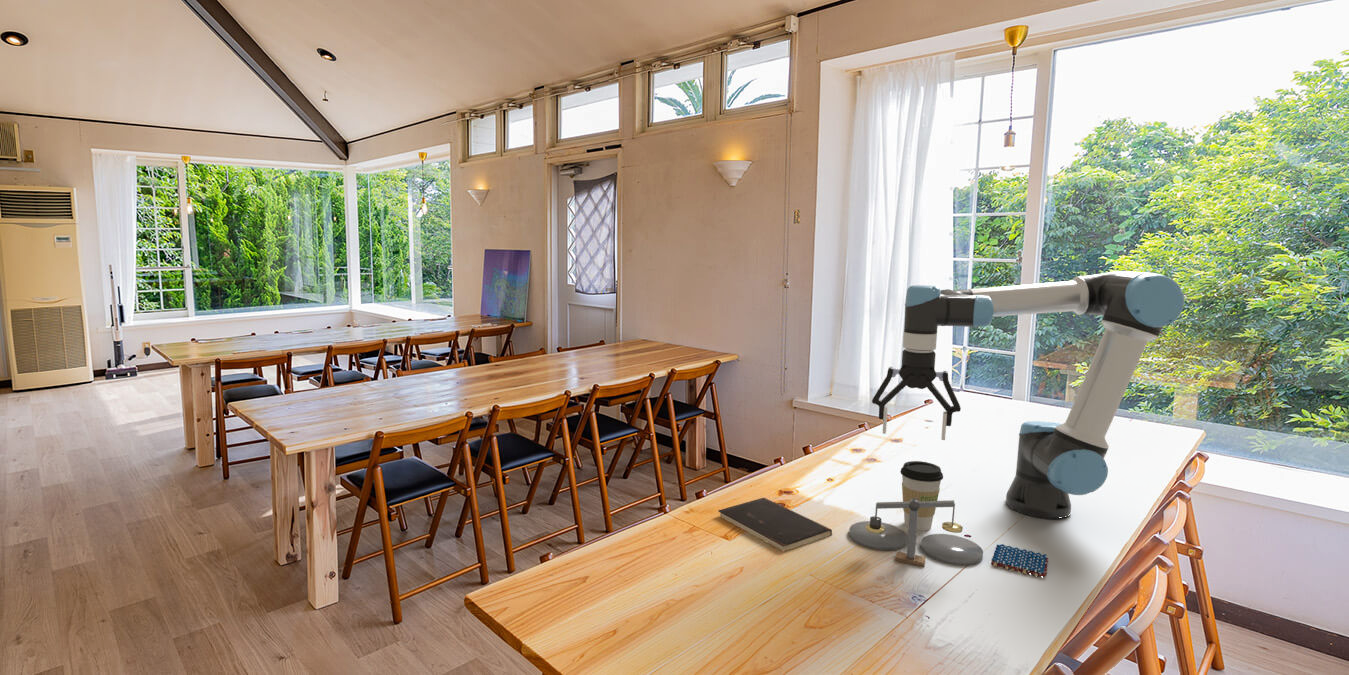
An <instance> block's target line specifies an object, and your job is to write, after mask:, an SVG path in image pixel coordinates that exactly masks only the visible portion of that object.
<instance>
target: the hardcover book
mask: <svg viewBox="0 0 1349 675" xmlns="http://www.w3.org/2000/svg"><path fill="white" fill-rule="evenodd" d="M717 512H719V514H720V515H719V518H721V517H722V519H723V518H724V519H723V520H724V521H727V522H729V523H730V522H731V523H730V524H732V523H733V524H732V525H734V526H736V527H738V528H739V527H740V529H741V528H742V529H741V530H743V529H744V530H743V531H745V530H746V531H745V532H747V531H748V532H747V533H749V532H750V533H752V534H753V535H752V534H751V535H752V536H754V535H755V536H754V537H756V536H757V537H756V538H758V537H759V538H761V539H763V540H765V541H767V542H768V543H767V542H766V543H767V544H769V543H770V544H772V545H773V546H772V545H771V546H772V547H774V546H775V547H774V548H776V547H777V548H776V549H778V548H779V549H781V550H783V551H785V550H787V551H790V550H792V548H793V549H795V547H796V548H799V547H801V545H802V546H805V545H807V544H809V543H810V544H811V543H812V542H815V541H818V540H822V539H823V538H824V539H825V538H826V537H829V536H832V535H833V530H832V529H831V528H829V527H827V526H825V525H823V524H821V523H819V522H817V521H814V520H813V519H810V518H808V517H806V516H805V515H802V514H799V513H798V512H796V511H793V510H791V509H789V508H787V507H785V506H783V505H780V504H778V503H777V502H776V501H775V502H774V501H772V500H771V499H769V498H766V497H762V498H757V499H753V500H750V501H747V502H743V503H740V504H735V505H732V506H728V507H725V508H722V509H718V511H717ZM750 533H749V534H750ZM759 538H758V539H759ZM761 539H760V540H761ZM763 540H762V541H763ZM765 541H764V542H765ZM770 544H769V545H770ZM798 546H799V547H798ZM779 549H778V550H779ZM789 549H790V550H789ZM781 550H780V551H781ZM783 551H782V552H783ZM785 552H786V551H785Z"/></svg>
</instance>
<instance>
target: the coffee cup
mask: <svg viewBox="0 0 1349 675" xmlns="http://www.w3.org/2000/svg"><path fill="white" fill-rule="evenodd" d="M899 472H900V474H901V476H902V482H901V489H902V490H901V491H902V493H901V494H902V502H910V501H911V499H913V498H916V499H918V500H919V501H939V499H938V498H939V495H940V494H939V493H940V490H941V488H940V487H941V486H940V485H941V481H942V480H943V479H944V474H943V473H942V468H941V467H940V466H939V465H937V464H934V463H931V462H927V461H920V460H912V461H906V462H904V463H903V466H902V467H901V468H900V471H899ZM902 509H903V510H902V511H903V513H904V514H903V520H904V526H905V527H907V528H908V529H909V516H910V508H902ZM936 509H937V507H932V508H919V509H918V521H917V531H920V532H923V531H924V532H925V531H929V530H931V529H932V525H933V521H934V520H933V519H934V516H935V513H936Z"/></svg>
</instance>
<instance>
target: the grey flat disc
mask: <svg viewBox="0 0 1349 675" xmlns="http://www.w3.org/2000/svg"><path fill="white" fill-rule="evenodd" d="M920 549H921V551H922V552H923V553H924V554H925V555H926V556H927V557H929V558H931V559H933V560H936V561H938V562H941V563H944V564H948V565H953V566H974V565H976V564H979V563H981V562H982V560H983V558H984V550H983V548H982V547H981V546H980V545H978V544H977V543H976V542H975V541H972V540H970V539H968V538H965V537H962V536H958V535H954V534H948V533H932V534H927V535H924V536H923V537H922V538H921V541H920Z"/></svg>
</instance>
